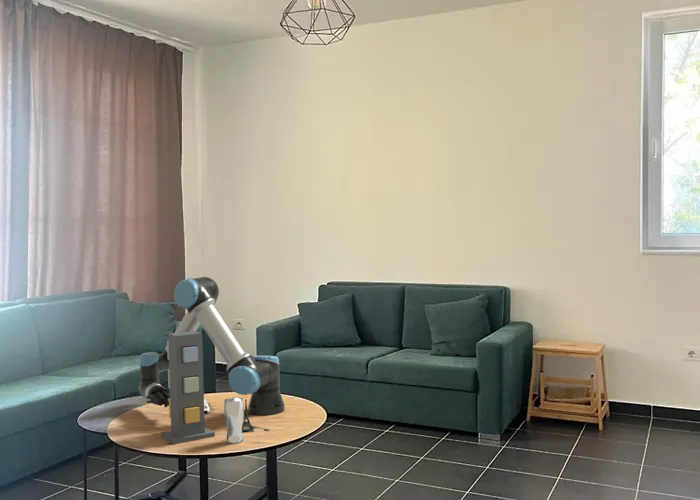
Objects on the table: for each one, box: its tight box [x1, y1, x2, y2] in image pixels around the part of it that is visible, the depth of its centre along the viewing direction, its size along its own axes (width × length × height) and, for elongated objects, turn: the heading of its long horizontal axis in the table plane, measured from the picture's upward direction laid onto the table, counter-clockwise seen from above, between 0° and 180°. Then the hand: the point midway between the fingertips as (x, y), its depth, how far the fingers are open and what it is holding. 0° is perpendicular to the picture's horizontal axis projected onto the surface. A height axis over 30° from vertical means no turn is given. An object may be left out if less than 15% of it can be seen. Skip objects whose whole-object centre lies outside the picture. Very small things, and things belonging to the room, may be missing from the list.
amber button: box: [168, 399, 200, 424], centre depth 252 cm, size 16×7×7 cm, turn 32°
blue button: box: [166, 340, 198, 362], centre depth 252 cm, size 16×7×7 cm, turn 32°
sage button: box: [167, 370, 199, 393], centre depth 252 cm, size 16×7×7 cm, turn 32°
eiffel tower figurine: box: [225, 398, 271, 434], centre depth 257 cm, size 15×10×13 cm
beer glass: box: [223, 396, 245, 445], centre depth 243 cm, size 7×7×15 cm
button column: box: [161, 330, 216, 445], centre depth 250 cm, size 12×16×38 cm
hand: (174, 405), depth 262 cm, fingers closed
